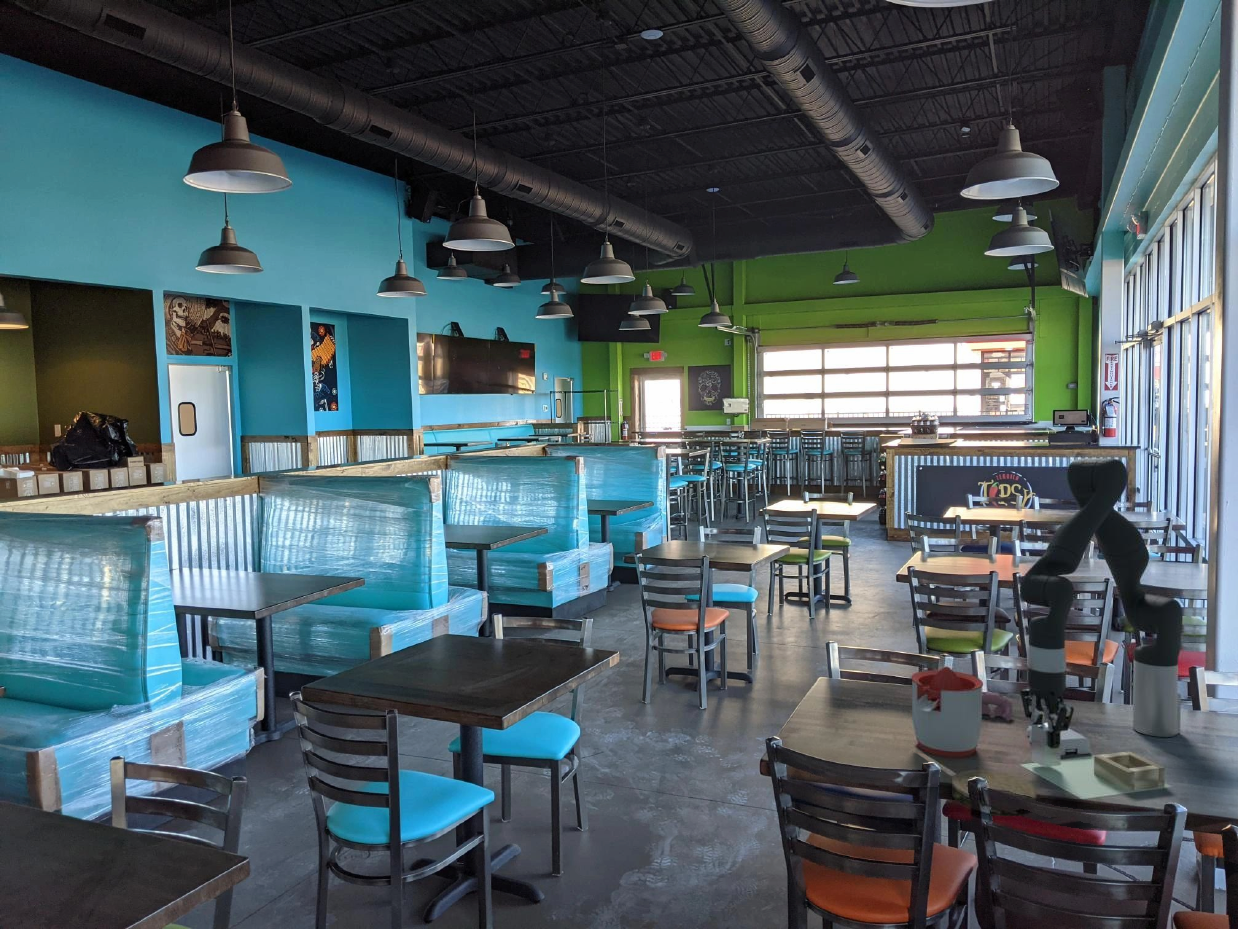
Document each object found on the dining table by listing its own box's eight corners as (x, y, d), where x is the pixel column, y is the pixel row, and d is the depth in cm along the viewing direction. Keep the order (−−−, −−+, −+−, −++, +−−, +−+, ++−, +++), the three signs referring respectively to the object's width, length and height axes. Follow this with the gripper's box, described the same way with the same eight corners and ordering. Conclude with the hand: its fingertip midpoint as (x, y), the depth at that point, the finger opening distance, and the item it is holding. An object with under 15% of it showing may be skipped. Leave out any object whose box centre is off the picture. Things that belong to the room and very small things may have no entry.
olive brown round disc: (934, 792, 179) (934, 778, 179) (990, 778, 186) (990, 764, 186) (997, 824, 165) (997, 808, 165) (1055, 807, 171) (1055, 792, 171)
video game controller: (1012, 724, 222) (1014, 697, 224) (1010, 721, 218) (1012, 693, 220) (971, 718, 227) (974, 691, 229) (968, 715, 223) (971, 687, 226)
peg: (1047, 758, 190) (1047, 722, 189) (1060, 765, 186) (1060, 728, 186) (1031, 760, 189) (1031, 724, 188) (1044, 767, 185) (1044, 730, 185)
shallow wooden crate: (1128, 769, 186) (1129, 751, 186) (1164, 786, 177) (1164, 767, 177) (1093, 774, 184) (1094, 755, 184) (1128, 791, 175) (1128, 772, 175)
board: (1104, 758, 195) (1104, 754, 195) (1172, 791, 177) (1172, 786, 177) (1020, 769, 189) (1020, 764, 189) (1081, 804, 172) (1082, 799, 172)
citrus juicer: (892, 751, 201) (892, 666, 200) (935, 734, 211) (935, 653, 210) (954, 772, 188) (954, 682, 187) (996, 753, 199) (996, 667, 198)
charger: (1049, 735, 210) (1090, 758, 195) (1014, 737, 209) (1052, 761, 194) (1049, 715, 210) (1090, 738, 195) (1014, 718, 209) (1052, 740, 194)
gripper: (1086, 673, 180) (1085, 754, 181) (1038, 656, 194) (1037, 731, 195) (1055, 677, 179) (1055, 758, 179) (1009, 658, 192) (1009, 734, 193)
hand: (1046, 743), depth 187 cm, fingers closed on peg, 4 cm apart
